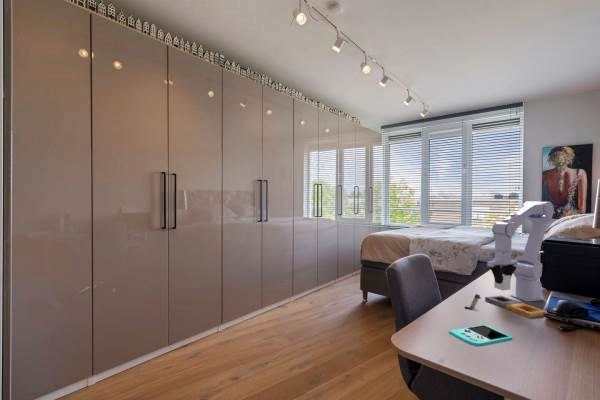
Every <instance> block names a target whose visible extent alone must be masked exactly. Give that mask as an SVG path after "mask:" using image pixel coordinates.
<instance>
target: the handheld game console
mask: <svg viewBox="0 0 600 400" xmlns="http://www.w3.org/2000/svg"><path fill="white" fill-rule="evenodd" d="M448 332H449V334H450V335H452V336H454V337H456V338H458V339H460V340H462V341H464V342H465V343H467V344H471V345H473V346H477V347H478V346H479V347H480V346H485V345H489V344H490V345H491V344H495V343H500V342H506V341H511V340H513V336H511V335H509V334H507V333H505V332H502V331H501V330H498V329H496V328H493V327H491V326H489V325H486V324H481V325H474V326H467V327H463V328H461V327H460V328H455V329H451V330H449V331H448Z"/></svg>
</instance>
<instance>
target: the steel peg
mask: <svg viewBox="0 0 600 400" xmlns="http://www.w3.org/2000/svg"><path fill="white" fill-rule="evenodd" d="M511 279H512V277H511V275H507V274H503V275H502V282H501V284H499V283H496V282H495V279H493V281H494V286H493V288H494V289H498V290H501V291H511V281H512V280H511Z"/></svg>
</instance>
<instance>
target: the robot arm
mask: <svg viewBox="0 0 600 400" xmlns="http://www.w3.org/2000/svg"><path fill="white" fill-rule="evenodd" d="M554 212H555V208H554V204H553V203H552V202H551V201H531V200H526V201H525V202H524V203H522V207H521V209H520V210H518V212H516V213H512V212H511V213H509V215H508V216H506V217H505V218H504V219H502V220H501V221H498V222H495V223H493V225H492V228H491V231H492V234H493V238H494V258H493V259H492V260H489V261H486V264H487V265H486V266H487V267H488V268H489V269H490V270H491V273H492V275H493V278H494V279H495V282H496V283H499V284H501V282H502V275H503V274H507V275H511V278H512V276H514V278H515V293H514V294H510V297H513V298H516V299H519V300H522V301H525V302H527V303H528V302H536V301H538V302H539V301H544V300H545V299H544V298H542V291H543V290H542V286H543V285H542V282H541V281H540V279H541V277H542V273H543V263H541V261H539V259H538V256H539V253H540V249H541V246H542V243H543V239H544V236H545V233H546V230H547V227H548V224H549V223H550V222H551V221H552V219H553V216H554ZM525 219H527V220H528V222H529V221H530V222H531V223H532V225H531V228H530V232H529V234H528V237H527V240H526V244H525V246H524V250H523V253H522V255H519V256H517V257H515V259H512V241H513V240H512V237H514V236H515V233H516V231H517V229H518V228H520V226H522V225H523V224H524V220H525ZM494 279H493V280H494Z"/></svg>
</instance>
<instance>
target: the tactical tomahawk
mask: <svg viewBox="0 0 600 400" xmlns="http://www.w3.org/2000/svg"><path fill="white" fill-rule="evenodd" d="M480 297H481V295H480V294H478V293H477V294H475V295H474V297H473V299H472V301H471V304H470V306H467V305H465V306H464V309H465V310H470V311H475V312H478V311H479V309H476V307H475V306H476V304H477V302H478V300H479V299H480Z"/></svg>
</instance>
